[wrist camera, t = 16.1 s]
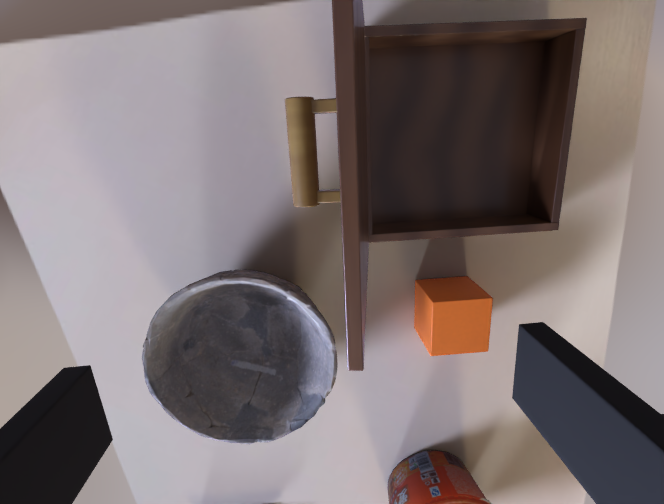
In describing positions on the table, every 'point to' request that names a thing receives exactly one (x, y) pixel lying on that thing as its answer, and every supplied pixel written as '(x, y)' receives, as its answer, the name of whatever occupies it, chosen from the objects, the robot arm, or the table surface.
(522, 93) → the box
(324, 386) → the bowl
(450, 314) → the cube
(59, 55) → the table surface
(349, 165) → the lid
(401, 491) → the food container
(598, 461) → the robot arm
